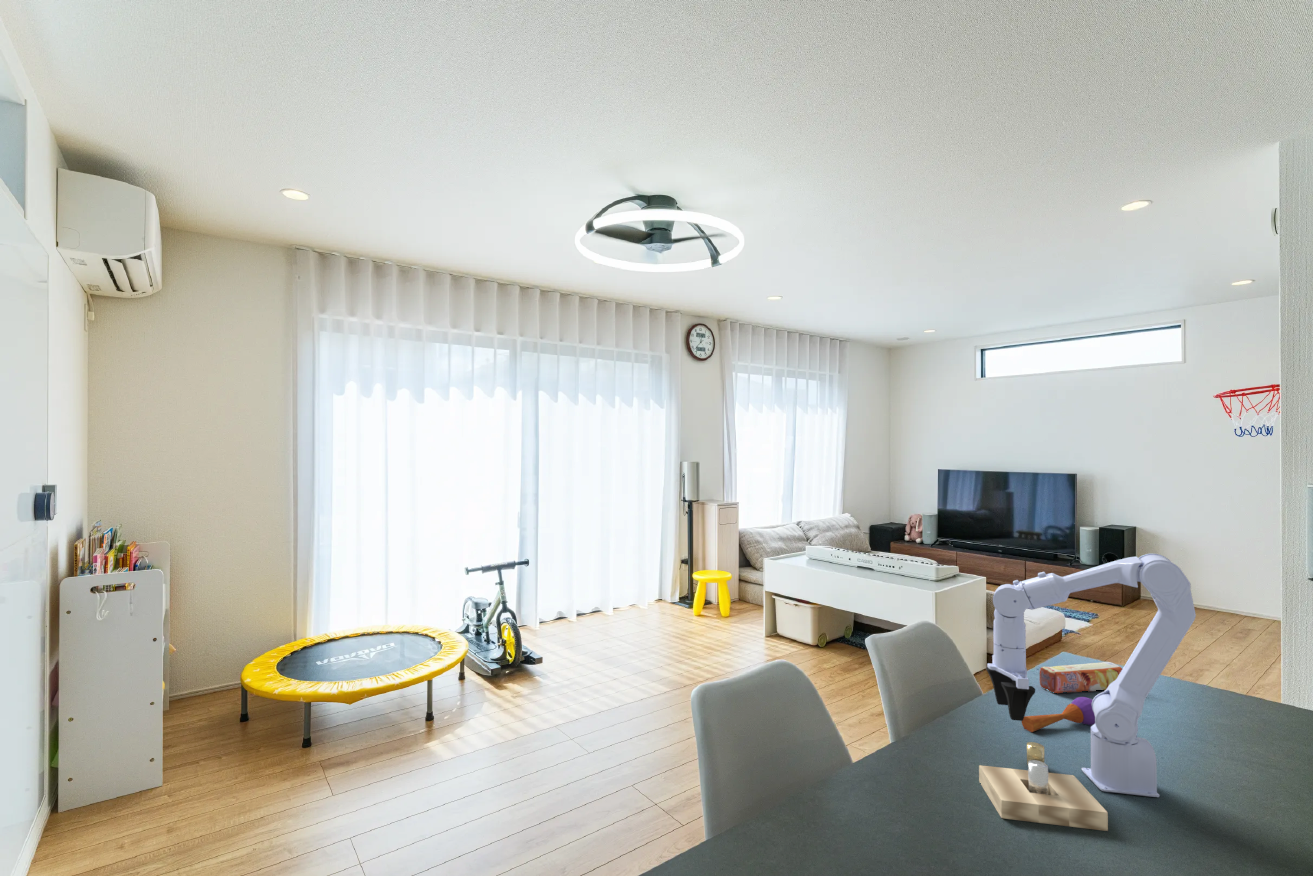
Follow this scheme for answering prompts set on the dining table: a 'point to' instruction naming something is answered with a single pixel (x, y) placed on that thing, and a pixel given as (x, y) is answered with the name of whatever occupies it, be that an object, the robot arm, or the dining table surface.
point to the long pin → (1037, 777)
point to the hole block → (1042, 799)
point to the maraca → (1063, 715)
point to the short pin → (1035, 752)
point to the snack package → (1079, 677)
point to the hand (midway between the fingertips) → (1009, 711)
